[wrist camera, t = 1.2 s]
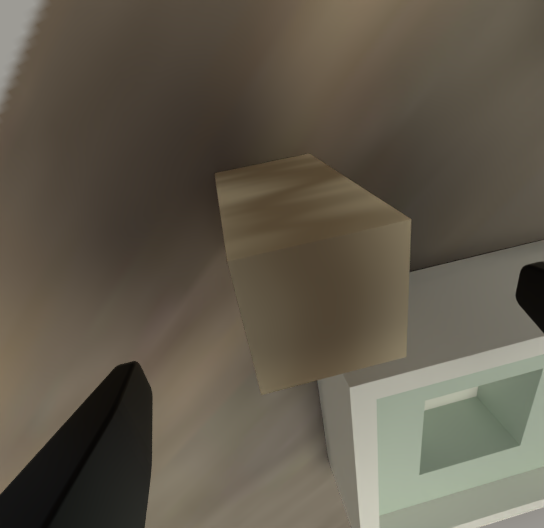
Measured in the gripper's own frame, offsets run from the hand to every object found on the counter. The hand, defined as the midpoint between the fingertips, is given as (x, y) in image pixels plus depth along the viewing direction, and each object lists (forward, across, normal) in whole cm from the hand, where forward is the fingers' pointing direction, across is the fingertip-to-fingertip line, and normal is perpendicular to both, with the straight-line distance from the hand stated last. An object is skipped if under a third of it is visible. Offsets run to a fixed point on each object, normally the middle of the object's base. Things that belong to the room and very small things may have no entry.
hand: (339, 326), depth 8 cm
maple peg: (+8, 0, 0) cm, 8 cm away
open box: (+8, -8, +12) cm, 17 cm away
